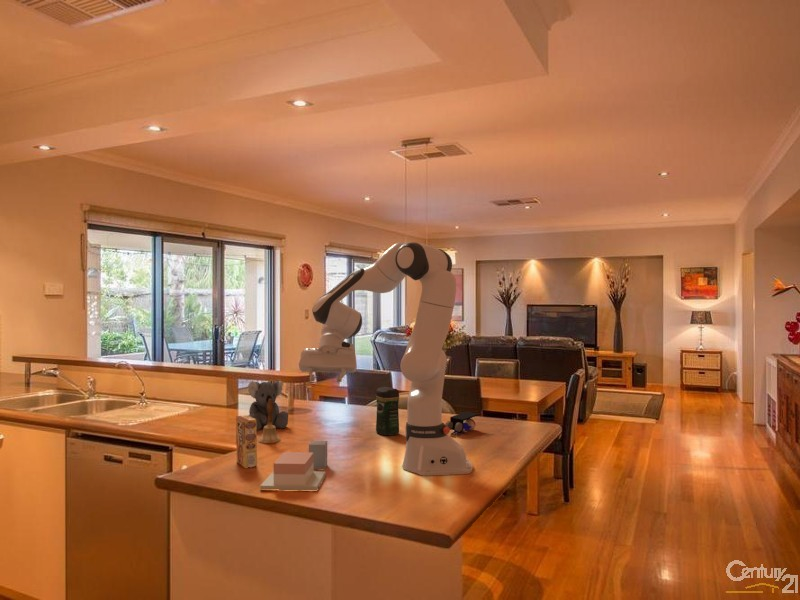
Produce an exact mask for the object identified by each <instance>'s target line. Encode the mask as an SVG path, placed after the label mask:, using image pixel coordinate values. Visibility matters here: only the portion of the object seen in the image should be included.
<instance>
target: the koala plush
mask: <svg viewBox="0 0 800 600" xmlns="http://www.w3.org/2000/svg"><path fill="white" fill-rule="evenodd" d="M283 386H284V381H281V380H277V381H275V382H270V381H263V382H257V381H254V380H251V381H250V382H249V384H247V389H248V391H247V392H248V394H249V395H250V396H251V398H253V399H255V401H253V402H252V403H251V404H250V406H249V411H248V413H249V414H247V415H248V416H250V417H252V418H254V419H256V420H257V431H259V430H261V429H262V428H264V426H266V425H267V423H268V413H267V403H268V400H269V399H272V401H273V405H274V409H273V413H272V425H274V426H275V427H276V429H284V428H287V426H288V423H289V412H287V411H280V408H279V405H278V404H277V402H276V400H277V397H278V396H280V394H281V392H283V391H282V390H283Z"/></svg>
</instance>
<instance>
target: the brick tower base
mask: <svg viewBox="0 0 800 600" xmlns="http://www.w3.org/2000/svg"><path fill="white" fill-rule="evenodd" d="M326 472H327V471H326V470H314V452H309V451H308V452H307V451H306V452H305V451H303V452H302V451H299V452H298V451H292V452H291V451H283V452H282V454H281V455H280V456H279V457H278V458H277V459H276V460H275V461H274V462H273V470H272V472H271V473H270V474H269V475H268V477H266V479H265V480H264V481H263V482H262V483H260V487H259V488H260V489H279V490H317V489H318V487H319V485H320V484H321V485H322V483H323V482H322V481H324V480H325V478H326ZM324 477H325V478H324ZM323 479H324V480H323ZM321 482H322V483H321ZM321 485H320V486H321ZM319 488H320V487H319ZM260 489H259V490H260ZM318 490H319V489H318ZM318 490H317V491H318Z"/></svg>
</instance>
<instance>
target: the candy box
mask: <svg viewBox="0 0 800 600" xmlns="http://www.w3.org/2000/svg"><path fill="white" fill-rule="evenodd" d="M248 415H249V414H245V415H237V416H236V417H235V429H236V430H235V432H236V433H235V434H236V436H235V437H236V440H235V441H236V442H235V443H236V444H235V445H236V463H237V464H239V465H240V464H241V465H240V466H242V467H243V468H244V467H245V468H244V469H249V468H248V467H250V468H254V467H255V466H256V467H258V450H257V449H258V440H257V439H258V438H257V436H258V434H257V431H258V430H257V420H256V419H254V418H252V417H250V416H248Z"/></svg>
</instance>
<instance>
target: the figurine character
mask: <svg viewBox="0 0 800 600" xmlns="http://www.w3.org/2000/svg"><path fill="white" fill-rule="evenodd" d="M477 416H479V413H476V412H471V411H463V412H460V413H458V414H455V415H452V416H450V418H449V420H448V421H446V422H445V424H446V425H447V426H448V427H449V429H450V431H451V430H452V431H453V432H450V435H453V436H454V435H455V434H456V436H460V435H462V434H463V433H464V432H465V431H466V432H467V431H468V432H469V431H470V432H471V431H474V429H475V427H476V422H475V420H474V419H472V418H475V417H477Z"/></svg>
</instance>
